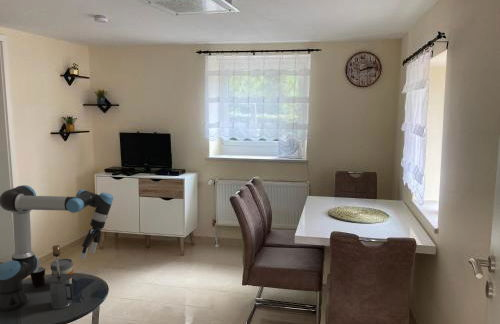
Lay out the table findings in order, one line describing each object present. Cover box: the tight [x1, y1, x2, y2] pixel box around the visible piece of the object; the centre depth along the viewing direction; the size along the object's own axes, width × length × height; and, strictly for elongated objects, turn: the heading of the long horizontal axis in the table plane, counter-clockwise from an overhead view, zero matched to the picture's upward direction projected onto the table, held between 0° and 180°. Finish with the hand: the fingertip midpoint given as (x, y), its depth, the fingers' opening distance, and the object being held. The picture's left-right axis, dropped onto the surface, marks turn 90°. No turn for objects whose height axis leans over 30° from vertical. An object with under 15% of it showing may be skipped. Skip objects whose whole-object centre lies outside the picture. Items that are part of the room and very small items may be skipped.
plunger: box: [52, 244, 61, 278], centre depth 228 cm, size 7×7×22 cm
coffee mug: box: [29, 266, 46, 288], centre depth 258 cm, size 12×9×10 cm
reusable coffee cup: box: [50, 258, 74, 284], centre depth 255 cm, size 13×13×15 cm
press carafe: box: [44, 273, 75, 310], centre depth 230 cm, size 13×10×16 cm
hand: (86, 255), depth 235 cm, fingers open, 13 cm apart
